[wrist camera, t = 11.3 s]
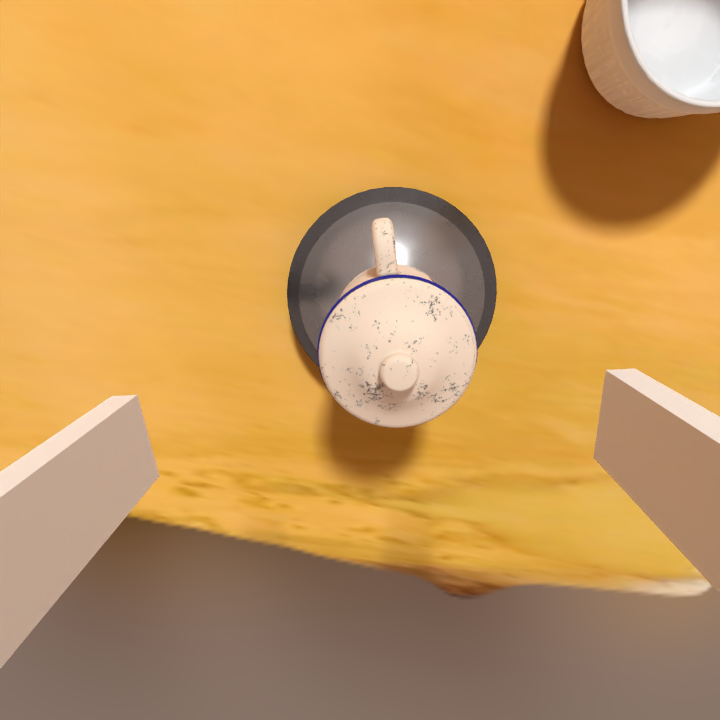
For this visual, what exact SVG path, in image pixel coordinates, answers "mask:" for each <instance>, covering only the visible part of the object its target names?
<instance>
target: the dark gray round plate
mask: <svg viewBox="0 0 720 720" xmlns="http://www.w3.org/2000/svg"><path fill="white" fill-rule="evenodd" d="M379 218H389V219H390V220H391V221H392V223H393V228H394V235H395V244H396V253H397V263H398V264H403V265H408V266H411V267H414V268H416V269H419V270H420V271H422V272H424V273H425V274H427V275H428V276H429V277H431V278H432V279H433V280H434V281H435V282H436V283H437V284H438V285H440V286H442V287H443V288H445V289H446V290H448V291H449V292H450V293H451V294H452V295H454V296H455V297H456V298H457V299H458V300H459V302H460V303H461V304H462V305H463V307H464V308H465V309H466V311H467V313H468V314H469V316H470V318H471V321H472V323H473V326H474V329H475V332H476V337H477V346H478V348H479V346H480V345H481V343H482V341H483V340H484V338H485V336H486V334H487V332H488V329H489V327H490V324H491V321H492V318H493V314H494V310H495V303H496V294H497V291H496V275H495V269H494V264H493V261H492V258H491V255H490V252H489V250H488V247H487V245H486V243H485V241H484V239H483V237H482V236H481V234H480V233H479V231H478V230H477V228H476V227H475V226H474V225H473V223H472V222H471V221H470V220H469V219H468V218H467V217H466V216H465V215H464V214H463V213H462V212H461V211H459V210H458V209H457V208H456V207H454V206H453V205H451V204H450V203H448V202H447V201H445V200H443V199H441V198H439V197H437V196H435V195H432V194H430V193H427V192H423V191H420V190H416V189H410V188H403V187H384V188H377V189H371V190H367V191H364V192H361V193H357V194H355V195H353V196H351V197H348V198H346V199H344V200H342V201H341V202H339V203H337V204H336V205H334V206H333V207H331V208H330V209H329V210H327V211H326V212H325V213H324V214H323V215H322V216H320V217H319V218H318V219H317V221H316V222H315V223H314V224H313V225H312V226H311V227H310V228H309V230H308V231H307V233H306V234H305V236H304V237H303V239H302V240H301V242H300V244H299V246H298V248H297V250H296V252H295V255H294V258H293V261H292V264H291V267H290V272H289V277H288V288H287V298H288V309H289V314H290V319H291V322H292V325H293V328H294V331H295V333H296V335H297V338H298V340H299V342H300V344H301V345H302V347H303V348H304V350H305V351H306V353H307V354H308V356H309V357H310V358H311V359H312V360H313V361H314V363H315V364H316V365H317V366H318V367H319V365H318V358H317V347H318V339H319V334H320V331H321V327H322V325H323V322H324V320H325V318H326V316H327V314H328V313H329V311H330V310H331V308H332V307H333V306H334V304H335V303H336V302H337V301H338V300H339V298H340V296H341V294H342V293H343V291H344V289H345V288H346V286H347V285H348V284H349V283H350V282H351V281H352V280H353V279H354V278H355V277H356V276H358V275H359V274H360V273H362V272H364V271H365V270H367V269H370V268H372V267H375V266H376V265H375V256H374V248H373V238H372V228H371V226H372V223H373V221H374V220H375V219H379Z"/></svg>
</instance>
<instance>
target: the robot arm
mask: <svg viewBox="0 0 720 720" xmlns="http://www.w3.org/2000/svg"><path fill="white" fill-rule="evenodd" d="M594 459H595V460H596V461H597V462H598V463H599V464H600V465H601V466H602V467H603V468H604V470H605V471H606V472H607V473H608V474H609V475H610V476H611V477H612V478H613V479H614V480H615V481H616V482H617V484H618V485H619V486H620V487H621V488H622V489H623V490H624V491H625V492H626V493H627V494H628V495H629V496H630V498H631V499H632V500H633V501H634V502H635V503H636V504H637V505H638V506H639V507H640V508H641V509H642V510H643V512H644V513H645V514H646V515H647V516H648V517H649V518H650V519H651V520H652V521H653V522H654V523H655V524H656V526H657V527H658V528H659V529H660V530H661V531H662V532H663V533H664V534H665V535H666V536H667V537H668V538H669V540H670V541H671V542H672V543H673V544H674V545H675V546H676V547H677V548H678V549H679V550H680V551H681V552H682V554H683V555H684V556H685V557H686V558H687V559H688V560H689V561H690V562H691V563H692V564H693V565H694V566H695V567H696V569H697V570H698V571H699V572H700V573H701V574H702V575H703V576H704V577H705V578H706V579H707V580H708V581H709V583H710V584H711V585H712V586H713V587H714V588H715V589H716V590H717V591H718V592H719V593H720V417H719V416H717V415H716V414H714V413H712V412H710V411H709V410H707V409H705V408H703V407H701V406H700V405H698V404H696V403H694V402H693V401H691V400H689V399H687V398H686V397H684V396H682V395H680V394H679V393H677V392H675V391H673V390H672V389H670V388H668V387H666V386H665V385H663V384H661V383H659V382H657V381H656V380H654V379H652V378H650V377H649V376H647V375H645V374H643V373H642V372H640V371H638V370H636V369H619V370H606V373H605V380H604V387H603V394H602V401H601V408H600V415H599V422H598V429H597V437H596V444H595V451H594ZM158 477H159V473H158V469H157V465H156V462H155V458H154V454H153V451H152V447H151V443H150V440H149V436H148V432H147V429H146V425H145V421H144V418H143V414H142V410H141V407H140V403H139V399H138V396H137V395H126V396H111V397H110V398H108V399H107V400H105V401H104V402H102V403H101V404H99V405H98V406H96V407H95V408H94V409H92V410H91V411H89V412H88V413H86V414H85V415H83V416H82V417H80V418H79V419H77V420H76V421H74V422H73V423H71V424H70V425H69V426H67V427H66V428H64V429H63V430H61V431H60V432H58V433H57V434H55V435H54V436H52V437H51V438H49V439H48V440H46V441H45V442H43V443H42V444H41V445H39V446H38V447H36V448H35V449H33V450H32V451H30V452H29V453H27V454H26V455H24V456H23V457H21V458H20V459H18V460H17V461H16V462H14V463H13V464H11V465H10V466H8V467H7V468H5V469H4V470H2V471H1V472H0V668H1V667H2V666H3V665H4V664H5V662H6V661H7V660H8V659H9V657H10V656H11V655H12V654H13V653H14V651H15V650H16V649H17V648H18V647H19V645H20V644H21V643H22V642H23V641H24V639H25V638H26V637H27V636H28V635H29V633H30V632H31V631H32V630H33V628H34V627H35V626H36V625H37V624H38V622H39V621H40V620H41V619H42V618H43V616H44V615H45V614H46V613H47V611H48V610H49V609H50V608H51V606H52V605H53V604H54V603H55V602H56V601H57V599H58V598H59V597H60V596H61V594H62V593H63V592H64V591H65V590H66V588H67V587H68V586H69V585H70V584H71V583H72V581H73V580H74V579H75V578H76V576H77V575H78V574H79V573H80V572H81V570H82V569H83V568H84V567H85V565H86V564H87V563H88V562H89V561H90V559H91V558H92V557H93V556H94V555H95V553H96V552H97V551H98V550H99V549H100V547H101V546H102V545H103V544H104V543H105V541H106V540H107V539H108V538H109V537H110V535H111V534H112V533H113V532H114V531H115V529H116V528H117V527H118V526H119V524H120V523H121V522H122V521H123V520H124V518H125V517H126V516H127V515H128V514H129V512H130V511H131V510H132V509H133V508H134V506H135V505H136V504H137V503H138V502H139V500H140V499H141V498H142V497H143V495H144V494H145V493H146V492H147V491H148V489H149V488H150V487H151V486H152V485H153V483H154V482H155V481H156V480H157V479H158Z"/></svg>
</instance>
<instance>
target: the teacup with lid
mask: <svg viewBox="0 0 720 720" xmlns="http://www.w3.org/2000/svg"><path fill="white" fill-rule="evenodd" d="M371 228H372V238H373V248H374V256H375V265H376V266H375V267H372V268H370V269H367V270H365V271H364V272H362V273H360V274H359V275H358V276H356V277H355V278H354V279H353V280H352V281H351V282H350V283H349V284H348V285H347V286H346V288H345V289H344V291H343V293H342V294H341V296H340V298H339V300H338V301H337V302H336V303H335V304H334V306H333V307H332V308H331V310H330V311H329V313H328V314H327V316H326V318H325V320H324V322H323V325H322V327H321V331H320V334H319V339H318V347H317V358H318V365H319V369H320V373H321V376H322V379H323V381H324V383H325V385H326V387H327V389H328V390H329V392H330V393H331V395H332V396H333V398H334V399H335V400H336V401H337V402H338V403H339V404H340V405H341V406H342V407H343V408H344V409H345V410H346V411H348V412H349V413H350V414H352V415H353V416H355V417H357V418H359V419H361V420H363V421H365V422H368V423H370V424H374V425H377V426H382V427H390V428H402V427H411V426H415V425H419V424H422V423H426V422H428V421H430V420H433V419H434V418H436V417H438V416H440V415H441V414H443V413H444V412H446V411H447V410H448V409H450V408H451V407H452V406H453V405H454V404H455V403H456V402H457V401H458V400H459V399H460V397H461V396H462V395H463V393H464V392H465V390H466V389H467V387H468V385H469V383H470V381H471V379H472V376H473V373H474V370H475V366H476V362H477V350H478V346H477V337H476V332H475V329H474V326H473V323H472V321H471V318H470V316H469V314H468V313H467V311H466V309H465V308H464V307H463V305H462V304H461V303H460V302H459V300H458V299H457V298H456V297H455V296H454V295H452V294H451V293H450V292H449V291H448V290H446V289H445V288H443V287H442V286H440V285H438V284H437V283H436V282H435V281H434V280H433V279H432V278H431V277H429V276H428V275H427V274H425V273H424V272H422V271H420V270H419V269H416V268H414V267H411V266H408V265H403V264H398V263H397V253H396V244H395V235H394V228H393V223H392V221H391V220H390V219H389V218H379V219H375V220H374V221H373V223H372V226H371Z"/></svg>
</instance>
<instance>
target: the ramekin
mask: <svg viewBox="0 0 720 720" xmlns="http://www.w3.org/2000/svg"><path fill="white" fill-rule="evenodd" d="M581 42H582V53H583V56H584V62H585V66H586V68H587V71H588V75H589V77H590V79H591V80H592V83H593V85H594V86H595V88H596V89H597V90H598V92H599V93H600V95H601V96H602V97H604V98H605V100H606V101H607V102H608V103H610V104H612V105H613V106H614V107H615V108H617V109H619V110H622V111H623V112H625V113H626V114H631V115H633V116H636V117H644V118H670V117H678V116H684V115H690V114H711V113H718V112H720V0H586V7H585V10H584V13H583V22H582V35H581Z"/></svg>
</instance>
